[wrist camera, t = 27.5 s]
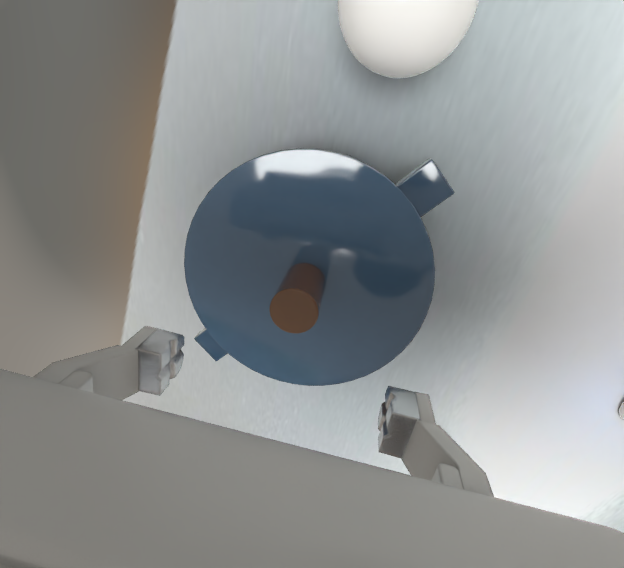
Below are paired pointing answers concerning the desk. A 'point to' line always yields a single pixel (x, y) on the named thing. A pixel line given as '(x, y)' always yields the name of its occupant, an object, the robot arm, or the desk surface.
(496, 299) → the desk surface
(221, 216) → the lid
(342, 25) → the lightbulb
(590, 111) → the desk surface
